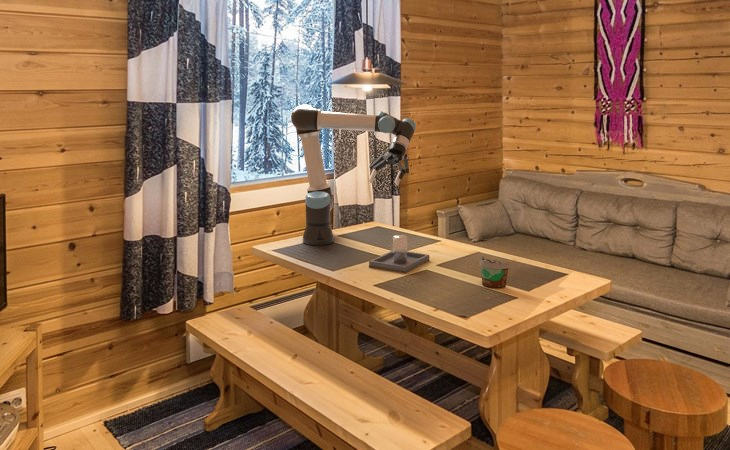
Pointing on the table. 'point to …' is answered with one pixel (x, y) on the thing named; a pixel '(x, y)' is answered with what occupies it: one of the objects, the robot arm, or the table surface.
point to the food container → (494, 273)
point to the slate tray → (387, 264)
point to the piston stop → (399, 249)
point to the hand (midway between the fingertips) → (382, 182)
